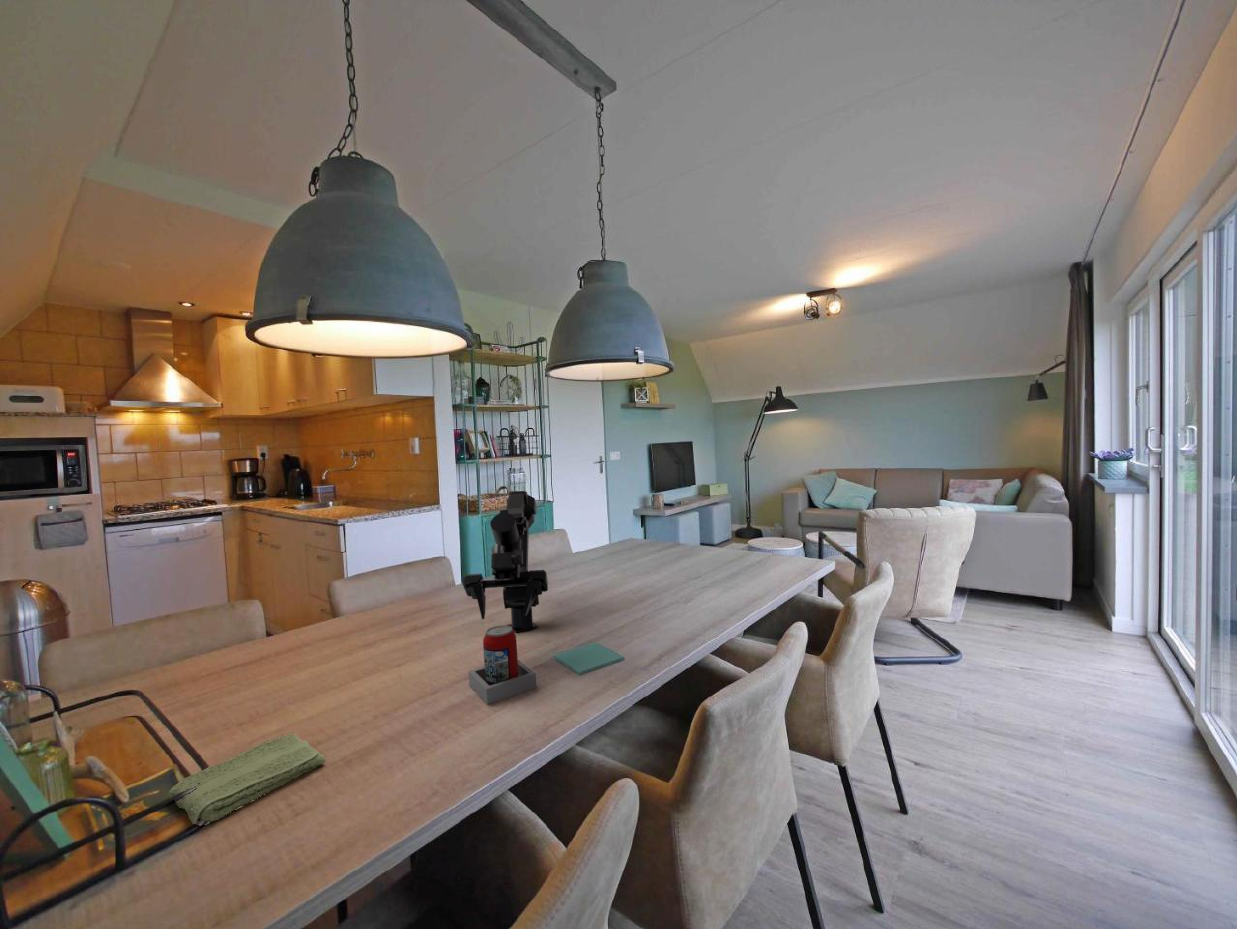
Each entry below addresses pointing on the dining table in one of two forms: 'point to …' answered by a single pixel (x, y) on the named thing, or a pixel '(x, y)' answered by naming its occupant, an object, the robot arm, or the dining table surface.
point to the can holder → (502, 684)
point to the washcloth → (245, 777)
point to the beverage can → (500, 654)
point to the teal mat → (588, 657)
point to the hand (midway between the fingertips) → (503, 617)
